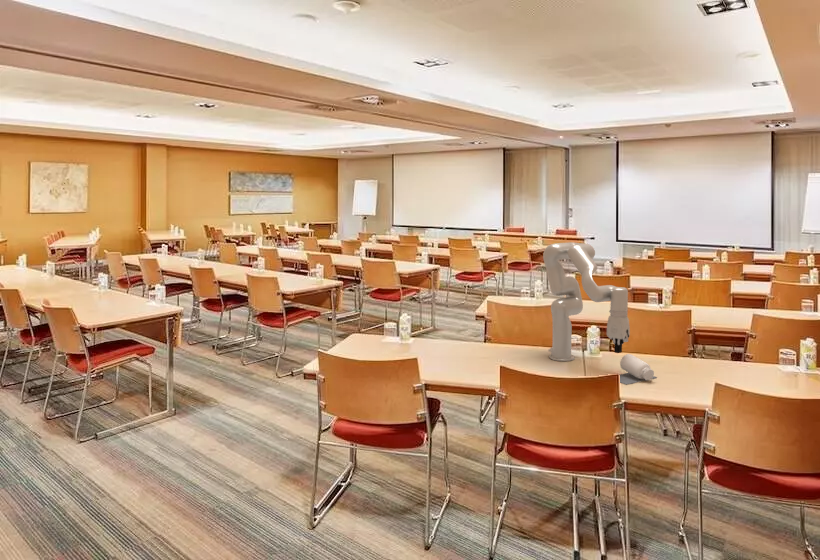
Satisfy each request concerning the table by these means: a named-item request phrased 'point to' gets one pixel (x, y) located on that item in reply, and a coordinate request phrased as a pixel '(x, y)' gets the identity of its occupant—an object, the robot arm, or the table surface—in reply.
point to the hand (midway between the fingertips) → (618, 352)
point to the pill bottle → (636, 367)
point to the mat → (630, 379)
